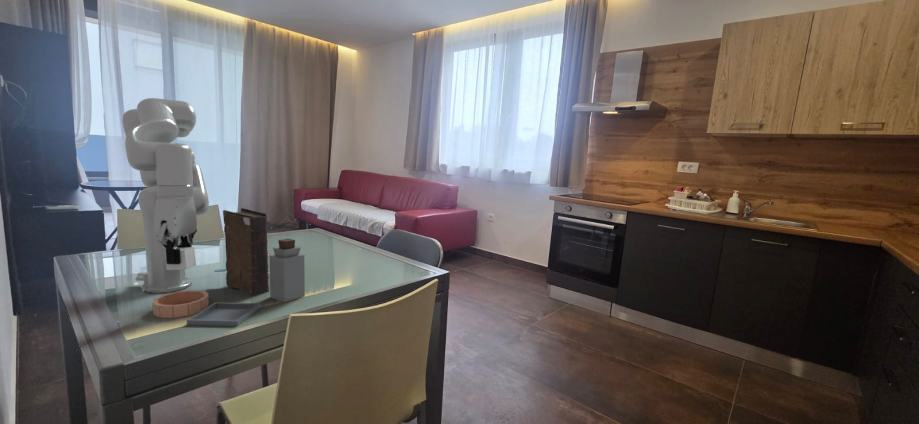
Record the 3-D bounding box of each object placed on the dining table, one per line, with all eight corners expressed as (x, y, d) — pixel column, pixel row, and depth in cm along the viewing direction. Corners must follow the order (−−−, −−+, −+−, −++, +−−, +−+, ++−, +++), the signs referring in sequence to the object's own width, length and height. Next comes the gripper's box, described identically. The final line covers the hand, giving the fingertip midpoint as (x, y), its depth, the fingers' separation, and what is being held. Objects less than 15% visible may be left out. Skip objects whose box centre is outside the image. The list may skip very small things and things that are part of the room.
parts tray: (187, 328, 96) (186, 320, 96) (215, 309, 108) (215, 302, 108) (237, 329, 97) (237, 321, 96) (260, 310, 108) (260, 303, 108)
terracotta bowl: (142, 320, 99) (141, 305, 99) (174, 302, 111) (173, 289, 111) (191, 321, 100) (190, 306, 99) (218, 303, 112) (217, 290, 111)
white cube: (166, 270, 102) (164, 251, 101) (177, 265, 106) (174, 247, 105) (186, 269, 102) (184, 250, 101) (196, 265, 106) (194, 247, 105)
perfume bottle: (284, 305, 113) (283, 243, 111) (270, 299, 117) (269, 240, 114) (304, 298, 119) (304, 240, 116) (290, 293, 122) (289, 236, 120)
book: (271, 294, 121) (269, 213, 118) (247, 299, 116) (244, 215, 112) (248, 281, 132) (245, 207, 128) (224, 286, 126) (221, 209, 123)
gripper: (182, 189, 109) (185, 253, 112) (135, 194, 93) (140, 270, 95) (209, 190, 110) (212, 254, 112) (168, 195, 93) (173, 270, 95)
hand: (179, 260), depth 104 cm, fingers closed on white cube, 4 cm apart
